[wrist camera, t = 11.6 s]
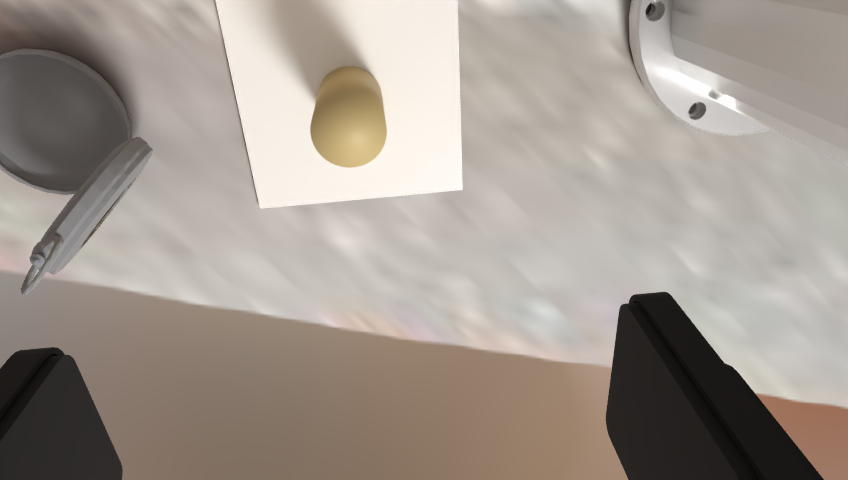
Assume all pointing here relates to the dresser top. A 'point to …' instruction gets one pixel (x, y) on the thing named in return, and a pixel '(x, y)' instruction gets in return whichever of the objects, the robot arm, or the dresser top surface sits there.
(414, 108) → the lid
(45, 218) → the dresser top surface
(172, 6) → the dresser top surface
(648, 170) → the dresser top surface
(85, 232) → the pocket watch
